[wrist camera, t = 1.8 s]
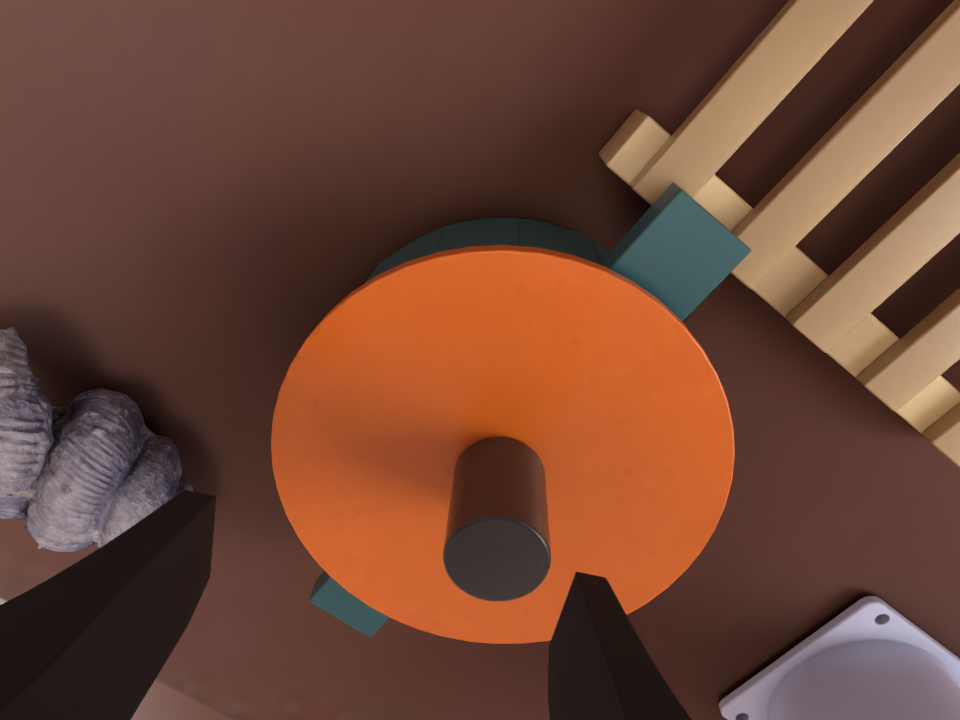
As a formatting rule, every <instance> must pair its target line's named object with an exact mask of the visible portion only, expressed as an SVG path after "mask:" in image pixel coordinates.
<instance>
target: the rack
mask: <svg viewBox="0 0 960 720" xmlns="http://www.w3.org/2000/svg"><path fill="white" fill-rule="evenodd" d="M873 1H874V0H789V1H788V2H787V3H786V5H785V6H784V7H783V8H782V9H781V10H780V12H779V13H778V14H777V15H776V16H775V17H774V18H773V20H772V21H771V22H770V23H769V24H768V25H767V26H766V28H765V29H764V30H763V31H762V32H761V33H760V35H759V36H758V37H757V38H756V39H755V40H754V41H753V43H752V44H751V45H750V46H749V47H748V48H747V49H746V51H745V52H744V53H743V54H742V55H741V56H740V58H739V59H738V60H737V61H736V62H735V63H734V64H733V66H732V67H731V68H730V69H729V70H728V71H727V72H726V74H725V75H724V76H723V77H722V78H721V79H720V81H719V82H718V83H717V84H716V85H715V86H714V87H713V89H712V90H711V91H710V92H709V93H708V94H707V96H706V97H705V98H704V99H703V100H702V101H701V102H700V104H699V105H698V106H697V107H696V108H695V109H694V110H693V112H692V113H691V114H690V115H689V116H688V117H687V119H686V120H685V121H684V122H683V123H682V124H681V125H680V127H679V128H678V129H677V130H676V131H675V132H674V133H673V135H672V136H671V135H670V134H669V133H668V132H667V131H666V130H664V129H663V128H662V127H661V126H660V125H659V124H658V123H657V122H655V121H654V120H653V119H652V118H651V117H650V116H648V115H646V114H645V113H643V112H641V111H640V110H638V109H635V110H634V111H633V112H632V114H631V115H630V116H629V117H628V118H627V120H626V121H625V122H624V123H623V124H622V126H621V127H620V128H619V129H618V130H617V132H616V133H615V134H614V135H613V136H612V138H611V139H610V140H609V141H608V142H607V144H606V145H605V146H604V147H603V148H602V150H601V151H600V152H599V156H600V157H601V159H602V160H603V162H604V163H605V164H606V166H607V167H608V168H609V169H611V170H612V171H613V172H614V173H615V174H616V175H618V176H619V177H620V178H621V179H622V180H624V181H625V182H626V183H627V184H628V185H629V186H630V187H631V188H632V189H633V190H634V191H635V192H636V193H637V194H638V195H639V196H641V197H642V198H643V199H644V200H645V201H646V202H648V203H649V204H650V205H651V206H652V205H653V203H654V202H655V201H656V200H657V199H658V198H659V197H660V196H661V194H662V193H663V192H664V191H665V190H666V189H667V188H668V187H669V186H670V184H671V183H676V184H677V185H678V186H679V187H680V188H681V189H682V190H684V191H685V192H686V193H687V194H688V195H689V196H691V197H692V198H693V199H694V200H695V201H696V202H697V203H699V204H700V205H701V206H702V207H703V208H704V209H705V210H707V211H708V212H709V213H710V214H711V215H712V216H714V217H715V218H716V219H717V220H718V221H719V222H720V223H722V224H723V225H724V226H725V227H726V228H727V229H728V230H730V231H731V232H732V233H733V234H734V235H735V236H737V237H738V238H739V239H740V240H741V241H742V242H743V243H744V244H746V245H747V246H748V247H749V248H750V249H751V252H750V253H749V254H748V255H747V256H746V257H745V258H744V259H743V260H742V261H741V262H740V263H739V264H738V265H737V267H736V268H735V269H734V270H733V271H732V272H731V274H732V275H734V276H735V277H736V278H737V279H738V280H739V281H741V282H742V283H743V284H744V285H745V286H746V287H748V288H749V289H752V290H753V291H754V292H755V293H756V294H757V295H759V296H760V297H761V298H762V299H763V300H765V301H766V302H767V303H768V304H769V305H770V306H772V307H773V308H774V309H775V310H776V311H777V312H779V313H780V314H781V315H782V316H783V317H785V318H786V320H787V321H788V322H789V323H790V324H791V325H792V326H793V327H795V328H796V329H797V330H798V331H799V332H801V333H802V334H803V335H804V336H805V337H806V338H808V339H809V340H810V341H811V342H812V343H813V344H815V345H816V346H817V347H818V348H819V349H820V350H822V351H823V352H824V353H827V354H828V355H829V356H830V357H832V358H833V359H834V360H835V361H836V362H837V363H839V364H840V365H841V366H842V367H843V368H844V369H846V370H847V371H848V372H849V373H850V374H852V375H853V376H854V377H855V378H856V379H857V380H858V381H859V382H860V383H861V384H862V385H863V386H864V387H865V388H866V389H868V390H869V391H870V392H871V393H872V394H873V395H875V396H876V397H877V398H878V399H879V400H881V401H882V402H883V403H884V404H885V405H886V406H888V407H889V408H890V409H891V410H892V411H895V412H896V413H897V414H899V415H900V416H901V417H902V418H903V419H904V420H906V421H907V422H908V423H909V424H910V425H911V426H913V427H914V428H915V429H916V430H917V431H918V432H920V433H921V434H922V435H923V436H924V437H925V438H926V439H927V440H928V441H929V442H930V443H931V444H932V445H933V446H935V447H936V448H937V449H938V450H939V451H941V452H942V453H943V454H944V455H945V456H946V457H948V458H949V459H950V460H951V461H952V462H953V463H955V464H956V465H957V466H959V467H960V392H959V391H958V390H957V389H956V388H955V387H954V386H952V385H951V384H950V383H949V382H948V381H947V380H946V379H945V378H943V377H942V376H941V374H942V373H944V372H945V371H946V370H947V369H948V368H950V367H951V366H952V365H953V364H954V363H956V362H957V361H958V360H959V359H960V288H958V289H957V290H956V291H955V292H954V293H953V294H952V295H950V296H949V297H948V298H947V299H946V300H945V301H943V302H942V303H941V304H940V305H939V306H938V307H937V308H935V309H934V310H933V311H932V312H931V313H930V314H928V315H927V316H926V317H925V318H924V319H923V320H921V321H920V322H919V323H918V324H917V325H916V326H915V327H913V328H912V329H911V330H910V331H909V332H908V333H906V334H905V335H904V336H903V337H902V338H901V339H900V338H898V337H897V336H896V335H895V334H894V333H893V332H892V331H891V330H889V329H888V328H887V327H886V326H885V325H884V324H883V323H882V322H880V321H879V320H878V319H877V318H876V317H875V316H874V315H873V314H871V312H872V311H873V310H875V309H876V308H877V307H878V306H879V305H880V304H881V303H882V302H883V301H885V300H886V299H887V298H888V297H889V296H890V295H891V294H892V293H893V292H895V291H896V290H897V289H898V288H899V287H900V286H901V285H902V284H903V283H905V282H906V281H907V280H908V279H909V278H910V277H911V276H912V275H913V274H915V273H916V272H917V271H918V270H919V269H920V268H921V267H922V266H924V265H925V264H926V263H927V262H928V261H929V260H930V259H931V258H932V257H934V256H935V255H936V254H937V253H938V252H939V251H940V250H941V249H942V248H944V247H945V246H946V245H947V244H948V243H949V242H950V241H951V240H952V239H954V238H955V237H956V236H957V235H958V234H959V233H960V153H959V154H957V155H956V156H955V157H954V158H953V159H952V160H951V161H950V162H949V163H948V164H947V165H946V166H945V167H944V168H943V169H942V170H941V171H939V172H938V173H937V174H936V175H935V176H934V177H933V178H932V179H931V180H930V181H929V182H928V183H927V184H926V185H925V186H924V187H923V188H922V189H920V190H919V191H918V192H917V193H916V194H915V195H914V196H913V197H912V198H911V199H910V200H909V201H908V202H907V203H906V204H905V205H904V206H902V207H901V208H900V209H899V210H898V211H897V212H896V213H895V214H894V215H893V216H892V217H891V218H890V219H889V220H888V221H887V222H886V223H884V224H883V225H882V226H881V227H880V228H879V229H878V230H877V231H876V232H875V233H874V234H873V235H872V236H871V237H870V238H869V239H868V240H867V241H865V242H864V243H863V244H862V245H861V246H860V247H859V248H858V249H857V250H856V251H855V252H854V253H853V254H852V255H851V256H850V257H849V258H847V259H846V260H845V261H844V262H843V263H842V264H841V265H840V266H839V267H838V268H837V269H836V270H835V271H834V272H833V273H832V274H831V275H828V274H826V273H825V272H824V271H823V270H822V269H821V268H820V267H819V266H817V265H816V264H815V263H814V262H813V261H812V260H811V259H810V258H808V257H807V256H806V255H805V254H804V253H803V252H802V251H801V250H799V249H798V248H797V247H796V245H797V244H798V243H799V242H800V241H801V240H802V239H803V238H804V237H805V236H806V235H807V234H808V233H809V232H810V231H811V230H812V229H813V228H814V227H815V226H816V225H817V224H818V223H819V222H820V221H821V220H822V219H823V218H824V217H825V216H826V215H827V214H828V213H829V212H830V211H831V210H832V209H833V208H834V207H835V206H836V205H837V204H838V203H839V202H840V201H841V200H842V199H843V198H844V197H845V196H846V195H847V194H848V193H849V192H850V191H851V190H852V189H853V188H854V187H855V186H856V185H858V184H859V183H860V182H861V181H862V180H863V179H864V178H865V177H866V176H867V175H868V174H869V173H870V172H871V171H872V170H873V169H874V168H875V167H876V166H877V165H878V164H879V163H880V162H881V161H882V160H883V159H884V158H885V157H886V156H887V155H888V154H889V153H890V152H891V151H892V150H893V149H894V148H895V147H896V146H897V145H898V144H899V143H900V142H901V141H902V140H903V139H904V138H905V137H906V136H907V135H908V134H909V133H910V132H911V131H912V130H913V129H914V128H915V127H916V126H917V125H918V124H919V123H920V122H921V121H922V120H923V119H924V118H925V117H926V116H927V115H928V114H930V113H931V112H932V111H933V110H934V109H935V108H936V107H937V106H938V105H939V104H940V103H941V102H942V101H943V100H944V99H945V98H946V97H947V96H948V95H949V94H950V93H951V92H952V91H953V90H954V89H955V88H956V87H957V86H958V85H959V84H960V0H954V1H953V2H952V3H951V4H950V5H949V6H948V7H947V8H946V9H945V10H944V11H943V12H942V13H941V14H940V15H939V16H938V17H937V18H936V19H935V21H934V22H933V23H932V24H931V25H930V26H929V27H928V28H927V29H926V30H925V31H924V32H923V33H922V34H921V35H920V36H919V37H918V38H917V39H916V40H915V41H914V42H913V43H912V44H911V45H910V46H909V48H908V49H907V50H906V51H905V52H904V53H903V54H902V55H901V56H900V57H899V58H898V59H897V60H896V61H895V62H894V63H893V64H892V65H891V66H890V67H889V68H888V69H887V70H886V71H885V72H884V73H883V75H882V76H881V77H880V78H879V79H878V80H877V81H876V82H875V83H874V84H873V85H872V86H871V87H870V88H869V89H868V90H867V91H866V92H865V93H864V94H863V95H862V96H861V97H860V98H859V99H858V100H857V102H856V103H855V104H854V105H853V106H852V107H851V108H850V109H849V110H848V111H847V112H846V113H845V114H844V115H843V116H842V117H841V118H840V119H839V120H838V121H837V122H836V123H835V124H834V125H833V126H832V127H831V129H830V130H829V131H828V132H827V133H826V134H825V135H824V136H823V137H822V138H821V139H820V140H819V141H818V142H817V143H816V144H815V145H814V146H813V147H812V148H811V149H810V150H809V151H808V152H807V153H806V154H805V156H804V157H803V158H802V159H801V160H800V161H799V162H798V163H797V164H796V165H795V166H794V167H793V168H792V169H791V170H790V171H789V172H788V173H787V174H786V175H785V176H784V177H783V178H782V179H781V180H780V182H779V183H778V184H777V185H776V186H775V187H774V188H773V189H772V190H771V191H770V192H769V193H768V194H767V195H766V196H765V197H764V198H763V199H762V200H761V201H760V202H759V203H758V204H757V205H756V206H755V207H754V209H753V208H752V207H751V206H750V205H749V204H748V203H747V202H745V201H744V200H743V199H742V198H741V197H740V196H739V195H738V194H736V193H735V192H734V191H733V190H732V189H731V188H730V187H729V186H727V185H726V184H725V183H724V182H723V181H722V180H721V179H720V178H718V177H717V176H716V175H715V173H716V172H717V171H718V170H719V169H720V168H721V167H722V165H723V164H724V163H725V162H726V161H727V160H728V159H729V158H730V157H731V156H732V155H733V153H734V152H735V151H736V150H737V149H738V148H739V147H740V146H741V145H742V144H743V143H744V141H745V140H746V139H747V138H748V137H749V136H750V135H751V134H752V133H753V132H754V131H755V129H756V128H757V127H758V126H759V125H760V124H761V123H762V122H763V121H764V120H765V119H766V117H767V116H768V115H769V114H770V113H771V112H772V111H773V110H774V109H775V108H776V107H777V105H778V104H779V103H780V102H781V101H782V100H783V99H784V98H785V97H786V96H787V95H788V93H789V92H790V91H791V90H792V89H793V88H794V87H795V86H796V85H797V84H798V83H799V81H800V80H801V79H802V78H803V77H804V76H805V75H806V74H807V73H808V72H809V71H810V69H811V68H812V67H813V66H814V65H815V64H816V63H817V62H818V61H819V60H820V59H821V58H822V56H823V55H824V54H825V53H826V52H827V51H828V50H829V49H830V48H831V47H832V46H833V44H834V43H835V42H836V41H837V40H838V39H839V38H840V37H841V36H842V35H843V34H844V32H845V31H846V30H847V29H848V28H849V27H850V26H851V25H852V24H853V23H854V22H855V20H856V19H857V18H858V17H859V16H860V15H861V14H862V13H863V12H864V11H865V10H866V8H867V7H868V6H869V5H870V4H871V3H872V2H873Z"/></svg>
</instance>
